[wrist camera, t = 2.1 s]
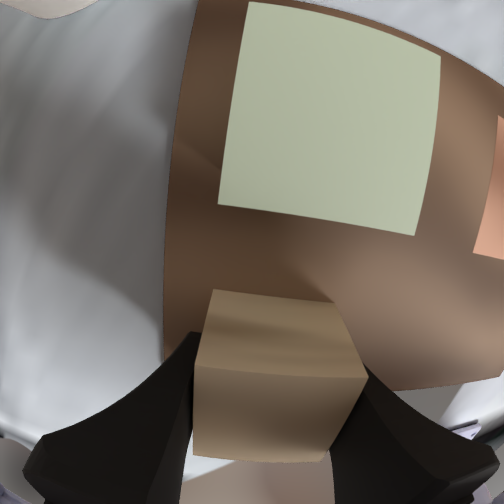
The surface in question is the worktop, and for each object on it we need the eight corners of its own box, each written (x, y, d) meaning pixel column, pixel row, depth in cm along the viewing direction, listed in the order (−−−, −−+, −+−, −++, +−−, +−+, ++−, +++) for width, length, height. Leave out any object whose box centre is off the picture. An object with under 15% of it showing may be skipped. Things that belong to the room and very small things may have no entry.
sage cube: (354, 200, 9) (414, 235, 6) (232, 179, 9) (218, 204, 5) (373, 83, 8) (440, 56, 4) (250, 57, 8) (248, 1, 4)
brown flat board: (495, 372, 13) (499, 376, 13) (167, 369, 12) (164, 376, 12) (567, 146, 8) (573, 147, 8) (203, -3, 7) (200, -9, 7)
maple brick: (306, 387, 12) (320, 462, 8) (205, 378, 12) (193, 454, 8) (334, 303, 11) (368, 377, 7) (213, 288, 10) (194, 364, 7)
